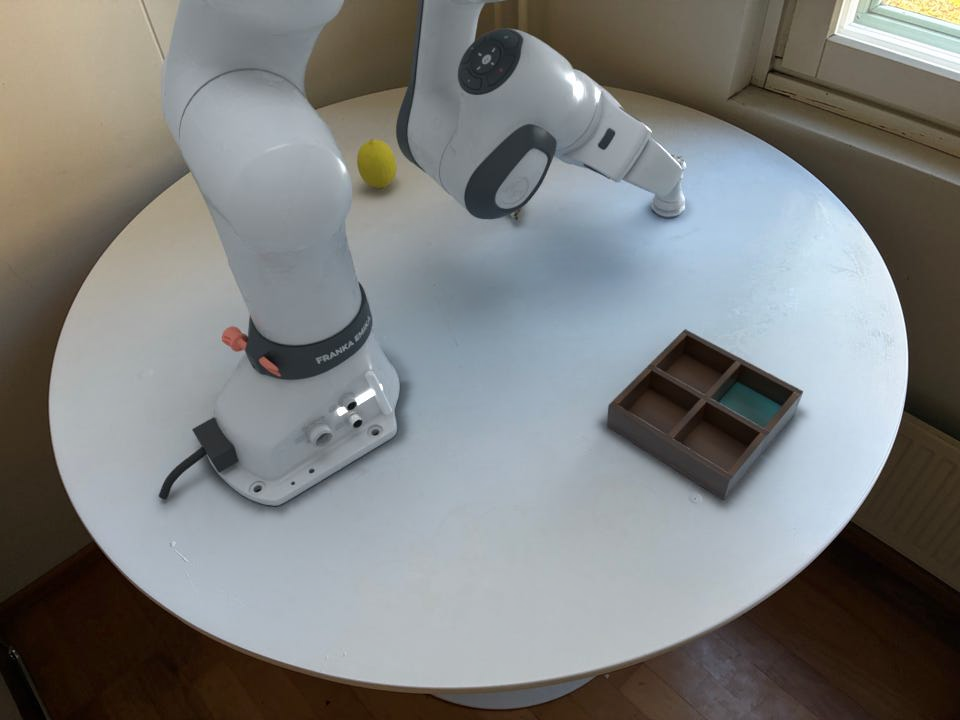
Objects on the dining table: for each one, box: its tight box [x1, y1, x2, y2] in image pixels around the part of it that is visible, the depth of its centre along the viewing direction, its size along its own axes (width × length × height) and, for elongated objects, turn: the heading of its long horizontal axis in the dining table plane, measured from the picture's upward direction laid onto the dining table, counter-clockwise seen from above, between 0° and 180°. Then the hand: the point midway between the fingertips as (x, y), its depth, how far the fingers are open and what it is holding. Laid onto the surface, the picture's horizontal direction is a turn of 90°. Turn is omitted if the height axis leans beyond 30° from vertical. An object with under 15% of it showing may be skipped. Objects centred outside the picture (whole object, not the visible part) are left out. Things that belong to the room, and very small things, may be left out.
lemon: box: [356, 139, 397, 189], centre depth 111 cm, size 6×6×8 cm
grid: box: [606, 328, 804, 501], centre depth 80 cm, size 14×14×4 cm
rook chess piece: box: [651, 153, 687, 218], centre depth 102 cm, size 4×4×8 cm
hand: (635, 161), depth 95 cm, fingers open, 8 cm apart
